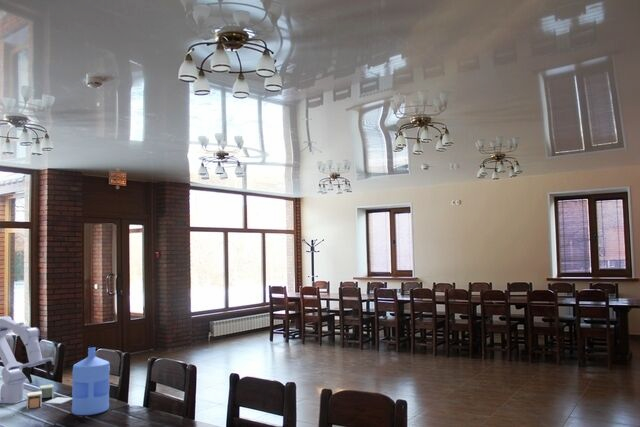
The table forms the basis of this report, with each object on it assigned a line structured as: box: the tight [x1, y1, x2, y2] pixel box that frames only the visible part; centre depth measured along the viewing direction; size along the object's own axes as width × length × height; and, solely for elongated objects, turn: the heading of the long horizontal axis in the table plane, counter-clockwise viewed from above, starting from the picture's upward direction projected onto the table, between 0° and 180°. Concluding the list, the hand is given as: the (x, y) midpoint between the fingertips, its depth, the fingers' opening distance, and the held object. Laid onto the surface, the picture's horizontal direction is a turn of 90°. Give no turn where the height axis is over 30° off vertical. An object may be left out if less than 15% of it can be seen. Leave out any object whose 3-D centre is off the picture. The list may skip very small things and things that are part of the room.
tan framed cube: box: [26, 390, 43, 410], centre depth 246 cm, size 6×6×6 cm
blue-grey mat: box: [44, 396, 72, 405], centre depth 255 cm, size 9×9×1 cm
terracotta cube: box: [28, 397, 40, 409], centre depth 246 cm, size 4×4×4 cm
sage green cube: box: [39, 383, 55, 400], centre depth 260 cm, size 6×6×6 cm
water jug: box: [70, 346, 111, 416], centre depth 239 cm, size 16×16×28 cm
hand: (40, 380), depth 248 cm, fingers open, 7 cm apart
